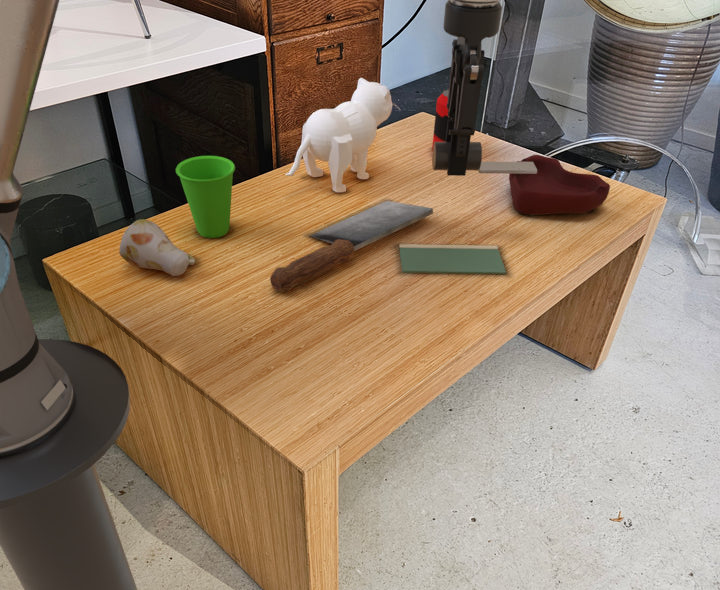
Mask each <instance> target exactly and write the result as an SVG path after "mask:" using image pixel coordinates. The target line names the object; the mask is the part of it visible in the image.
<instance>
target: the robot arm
mask: <svg viewBox="0 0 720 590" xmlns="http://www.w3.org/2000/svg"><path fill="white" fill-rule="evenodd" d="M500 1H501V0H447V1H446V2H445V7H444V15H443V17H444V18H443V30H444V32H445V33H447V34H448V35H449V36H453V37H456V38H457V39H456V38H455V39H453V41H452V43H451V46H452V47H451V62H450V63H451V65H450V73H449V83H448V90H449V93H448V102H447V109H449V111H448V118H451V119H448V123H447V132H446V141H445V142H451V144H450V153H449V162H448V170H446V175H447V176H453V177H454V176H455V177H456V176H457V177H458V176H459V177H462V176H463V177H465V176H466V175H467V170H466V167H467V160H468V152H469V145H470V142H471V139H470V137H472V136H474V135H475V133H476V124H477V115H478V109H479V102H480V95H481V89H482V83H483V78H484V74H485V70H486V67H485V64H484V62H485V49H482V45H483V44H482V41H483V40H484V39H486V38H492V37H495V36H496V35H497V34H498V33H499V30H500V25H501V24H500V23H501V19H502V18H501V17H502V11H503V6H502V4H501V3H500ZM59 4H60V0H0V458H5V457H9V456H13V455H16V454H19V453H21V452H24V451H26V450H29V449H31V448H33V447H35V446H37V445H39V444H40V443H42V442H44V441H45V440H47V439H48V438H50V437H51V436H52V435H53V434H55V433H56V432H57V431H58V430H59V429H60V428H61V427H62V426H63V425H64V424H65V423H66V421H67V420H68V419H69V417H70V415H71V413H72V411H73V409H74V406H75V392H74V389H73V386H72V383H71V380H70V378H69V377H68V375H67V373H66V372H65V371H64V369H63V368H62V367H61V366H60V365H59V364H58V363H57V362H56V361H55V360H54V358H53V357H52V356H51V355H50V354H49V353H48V352H47V351H46V350H45V349H44V348H43V346H42V345H41V344H40V343H39V341H38V339H39V338H38V336H37V333H36V330H35V326H34V325H33V321H32V318H31V316H30V313H29V310H28V307H27V305H26V301H25V299H24V296H23V293H22V290H21V286H20V284H19V279H18V274H17V270H16V265H15V260H14V253H13V251H12V245H11V244H12V243H11V241H12V235H13V231H14V227H15V224H16V220H17V218H18V217H17V216H18V214H19V209H20V206H21V203H22V199H23V195H24V187H23V186H22V184H21V183H20V181H19V179H18V178H17V177H16V176H15V174H14V170H15V167H16V163H17V159H18V155H19V151H20V148H21V144H22V140H23V137H24V133H25V129H26V126H27V122H28V118H29V115H30V111H31V107H32V104H33V99H34V97H35V92H36V88H37V84H38V81H39V77H40V74H41V71H42V68H43V67H42V66H43V63H44V59H45V56H46V53H47V49H48V44H49V41H50V38H51V33H52V30H53V26H54V24H55V23H54V22H55V19H56V15H57V11H58V9H59V8H58V7H59Z"/></svg>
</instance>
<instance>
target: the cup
mask: <svg viewBox="0 0 720 590" xmlns="http://www.w3.org/2000/svg"><path fill="white" fill-rule="evenodd" d="M235 171H236V166H235V163H233V161H232V160H230V159H228V158H226V157H222V156H218V155H200V156H193V157H190V158H187V159H184V160H183V161H181V162H179V163H178V164H177V166H176V168H175V173H176V175H177V176H178V177H179V180H180V182H181V187H182V189H183V192H184V195H185V198H186V201H187V204H188V207H189V209H190V214H191V217H192V219H193V222H194V225H195V228H196V231H197V233H198V234H199V235H200V236H202V237H204V238H206V239H207V238H208V239H216V238H220V237H223V236H225V235H227V234H228V233H229V230H230V227H231V225H230V223H231V209H232V191H233V177H234V176H233V175H234V172H235Z"/></svg>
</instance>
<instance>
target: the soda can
mask: <svg viewBox="0 0 720 590" xmlns="http://www.w3.org/2000/svg"><path fill="white" fill-rule="evenodd" d="M448 93H449V89H446V90H443V91H442V93H441V94H440V95H439V96H438V98H437V99H436V108H435V116H434V127H433V135H432V137H433V138H432V145H431V152H433V144H434V142H445V141H446V132H447V123H448V119H451V118H448V111H449V109H447V102H448ZM471 137H472V136H471ZM471 137H470V140H471V139H472V138H471Z"/></svg>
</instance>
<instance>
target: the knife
mask: <svg viewBox="0 0 720 590" xmlns="http://www.w3.org/2000/svg"><path fill="white" fill-rule="evenodd" d="M432 144H433V143H432ZM450 144H451V142H434V144H433V152H432V151H431V152H432V153H431V154H432V155H431V165H432V166H431V167H432V170H433V171H448V162H449V153H450ZM482 148H483V147H482V142H481V141H470V145H469V152H468V160H467V167H466V171H477V172H478V174H500V175H501V174H508V175H509V174H537V169H536V167H535V165H534V163H533V162H516V161H482V158H483V149H482Z"/></svg>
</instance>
